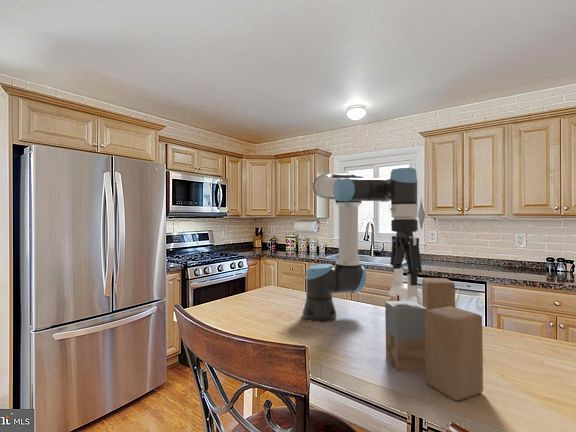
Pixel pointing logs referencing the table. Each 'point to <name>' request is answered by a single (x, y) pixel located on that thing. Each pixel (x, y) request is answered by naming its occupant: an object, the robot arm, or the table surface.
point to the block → (454, 352)
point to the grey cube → (405, 320)
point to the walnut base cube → (405, 354)
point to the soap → (400, 291)
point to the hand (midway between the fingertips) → (405, 292)
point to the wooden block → (438, 293)
